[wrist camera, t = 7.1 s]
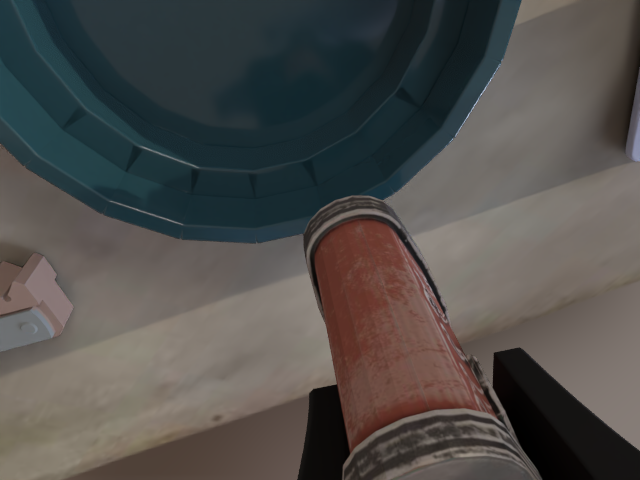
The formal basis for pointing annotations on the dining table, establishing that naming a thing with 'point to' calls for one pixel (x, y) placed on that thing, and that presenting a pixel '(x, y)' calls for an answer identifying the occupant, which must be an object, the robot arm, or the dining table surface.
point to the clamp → (30, 303)
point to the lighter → (402, 357)
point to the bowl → (239, 102)
